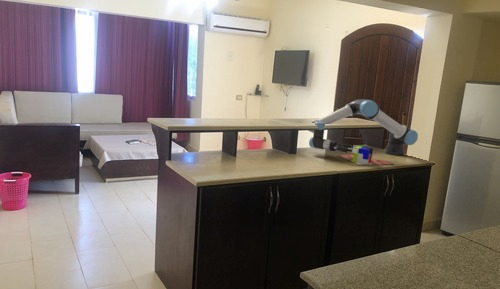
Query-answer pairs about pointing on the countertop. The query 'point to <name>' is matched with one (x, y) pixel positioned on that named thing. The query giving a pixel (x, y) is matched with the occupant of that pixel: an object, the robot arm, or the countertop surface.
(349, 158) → the board
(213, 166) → the countertop surface
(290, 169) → the countertop surface
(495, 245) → the countertop surface
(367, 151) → the puzzle toy
